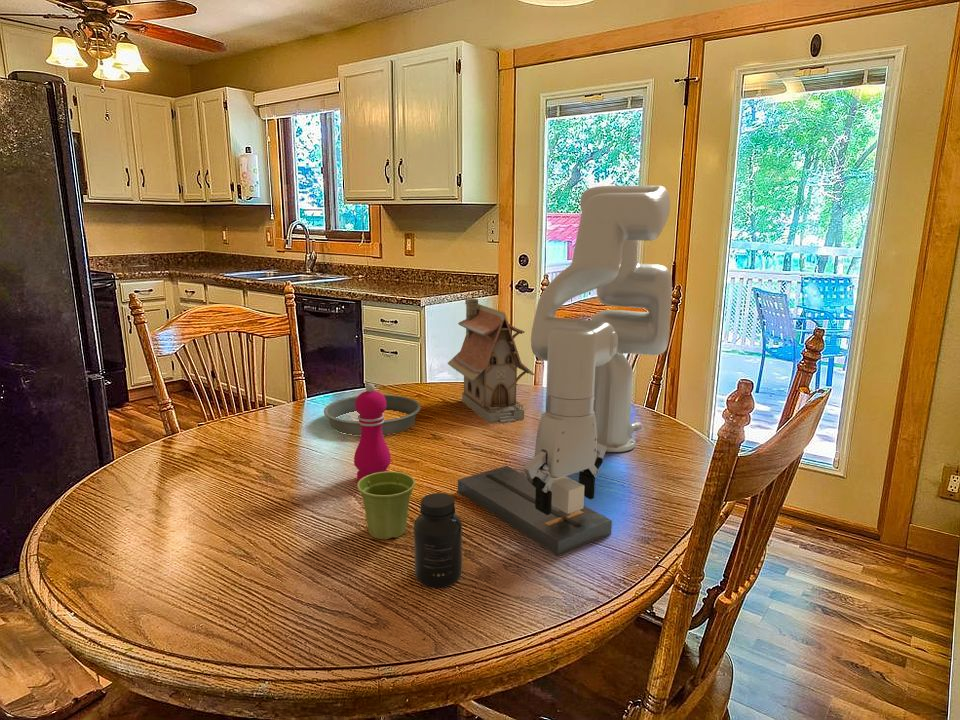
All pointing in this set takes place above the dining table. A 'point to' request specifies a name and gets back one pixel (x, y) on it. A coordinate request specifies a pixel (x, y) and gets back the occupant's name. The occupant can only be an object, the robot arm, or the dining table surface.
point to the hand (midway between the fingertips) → (565, 503)
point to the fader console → (532, 511)
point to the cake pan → (388, 426)
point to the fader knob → (567, 495)
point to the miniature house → (489, 364)
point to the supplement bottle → (438, 542)
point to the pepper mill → (371, 434)
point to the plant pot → (386, 502)
